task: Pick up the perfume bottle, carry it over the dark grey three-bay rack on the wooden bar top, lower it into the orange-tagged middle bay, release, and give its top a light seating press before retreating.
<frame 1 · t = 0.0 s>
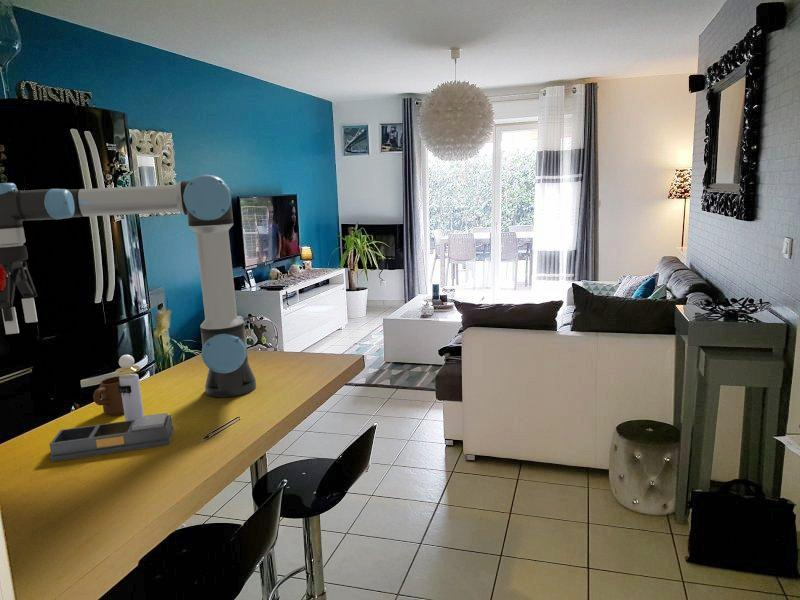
hand: (22, 327, 150), 28 cm above the breakfast bar, fingers open, 13 cm apart
perfume bottle: (136, 428, 153), on the breakfast bar
mug: (113, 415, 164), on the breakfast bar
rack: (115, 444, 143), on the breakfast bar
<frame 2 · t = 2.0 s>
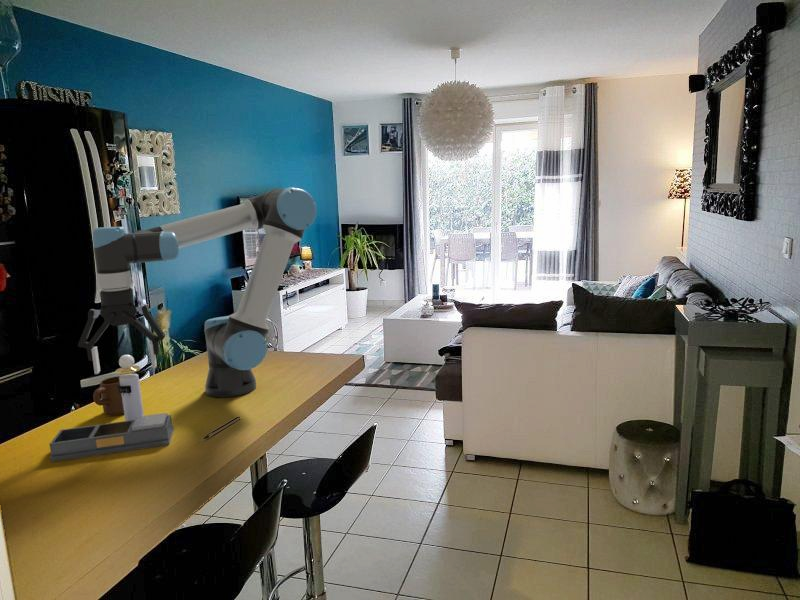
hand: (126, 369, 150), 16 cm above the breakfast bar, fingers open, 13 cm apart
nothing on the breakfast bar moved.
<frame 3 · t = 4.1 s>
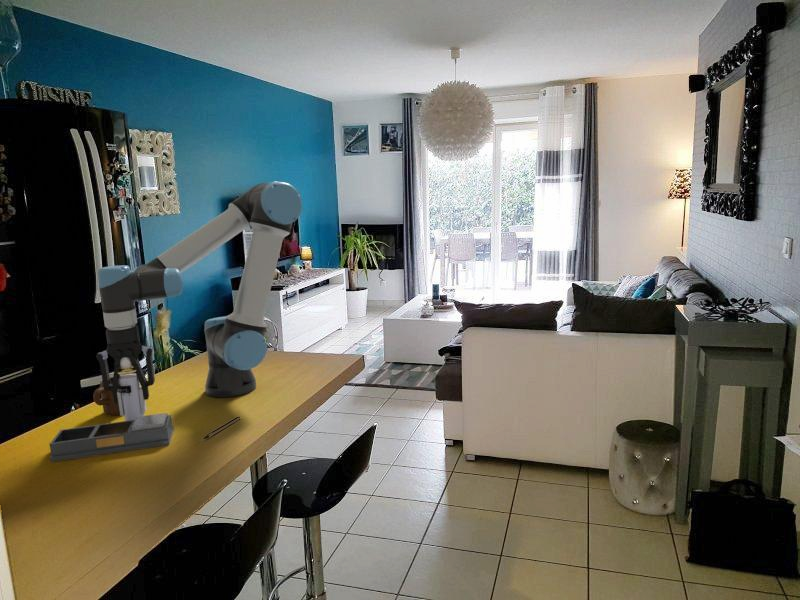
hand: (133, 412, 153), 4 cm above the breakfast bar, fingers closed on perfume bottle, 4 cm apart
perfume bottle: (136, 428, 153), on the breakfast bar, touching gripper
everything else where it was.
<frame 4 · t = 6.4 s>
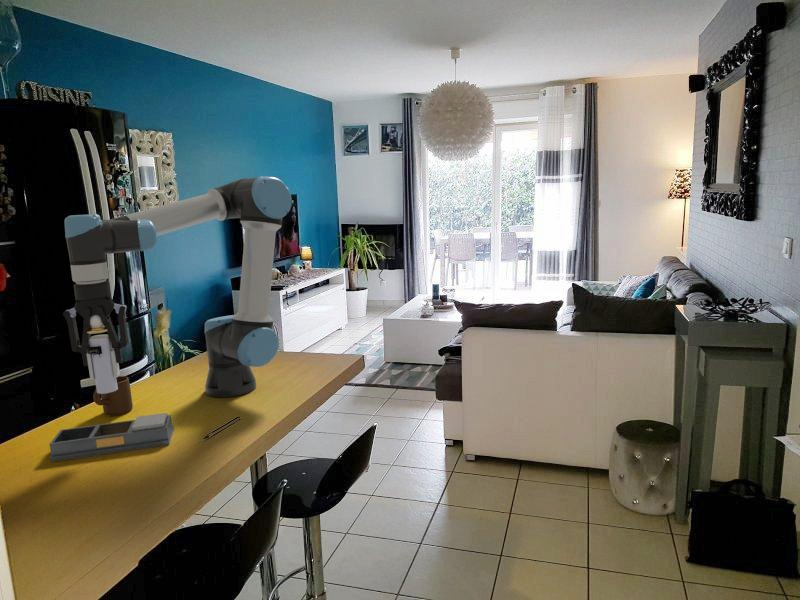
hand: (105, 376, 140), 18 cm above the breakfast bar, fingers closed on perfume bottle, 4 cm apart
perfume bottle: (107, 394, 141), point 13 cm above the breakfast bar, touching gripper
everything else where it was.
when the fingers open (7 cm above the breakfast bar, at t = 8.9 s): perfume bottle drops 1 cm, resting on rack.
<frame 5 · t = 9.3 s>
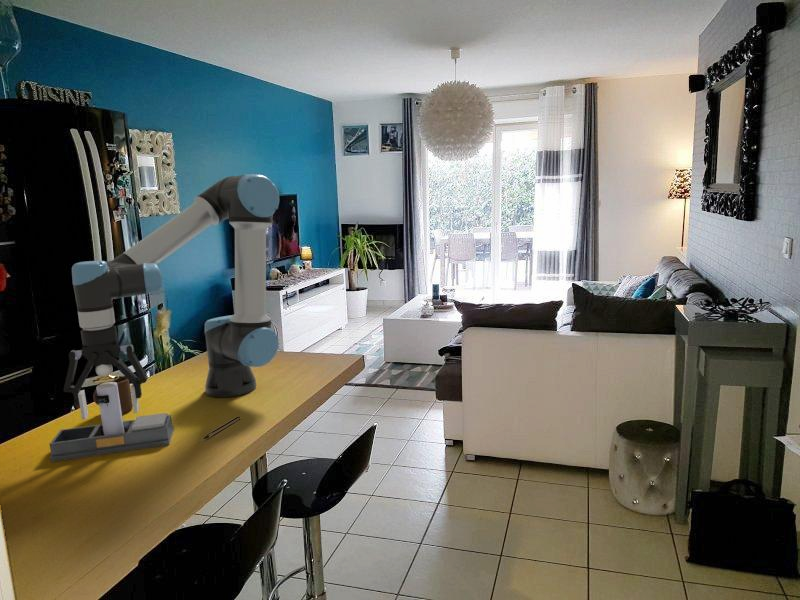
hand: (111, 414, 142), 8 cm above the breakfast bar, fingers open, 11 cm apart
perfume bottle: (115, 440, 143), point 1 cm above the breakfast bar, touching rack
everything else where it was.
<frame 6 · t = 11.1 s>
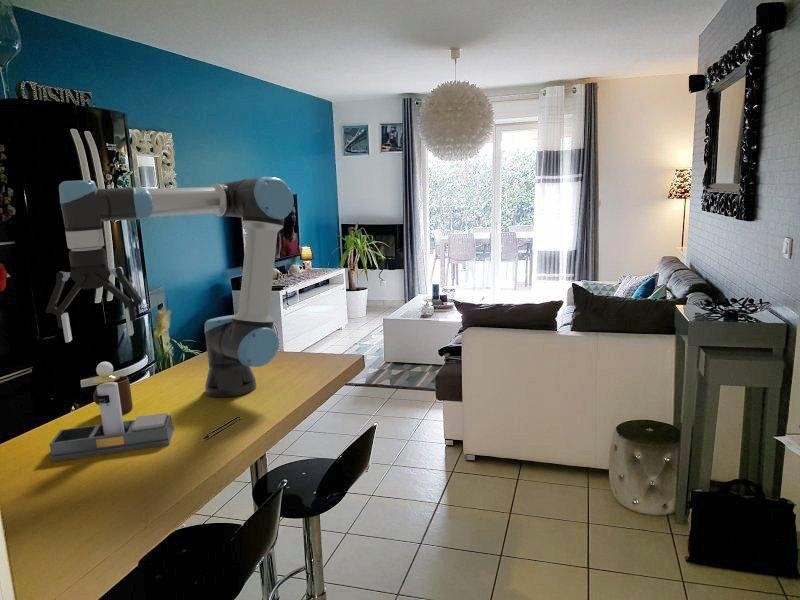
hand: (100, 337, 138), 27 cm above the breakfast bar, fingers open, 13 cm apart
nothing on the breakfast bar moved.
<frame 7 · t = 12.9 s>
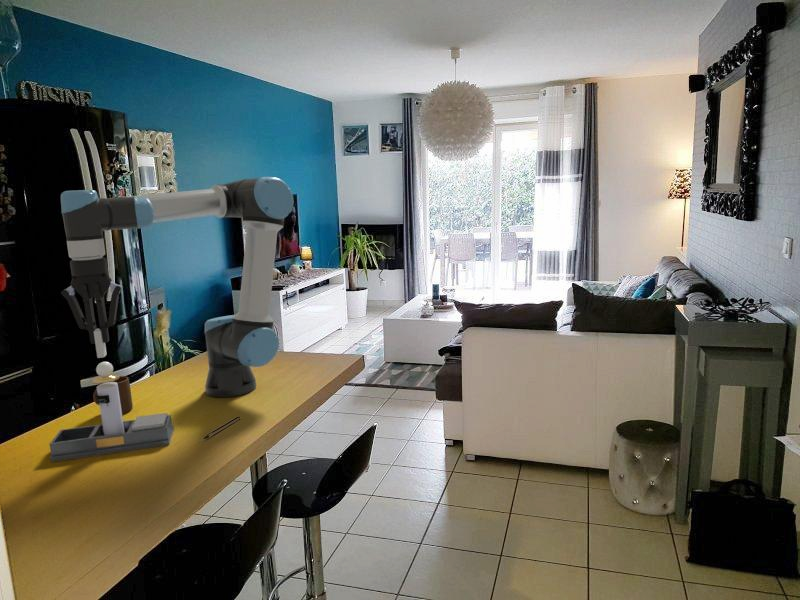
hand: (102, 356, 139), 23 cm above the breakfast bar, fingers closed
nothing on the breakfast bar moved.
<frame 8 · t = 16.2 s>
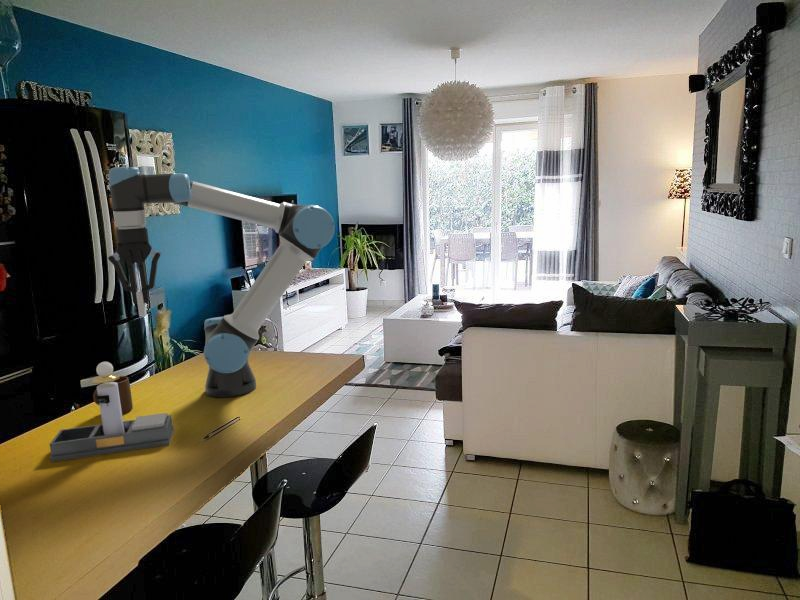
hand: (143, 315, 157), 28 cm above the breakfast bar, fingers closed
nothing on the breakfast bar moved.
at the end: perfume bottle 0.1 cm off-centre on the rack, point 1.1 cm above the rack's base; perfume bottle tilted 0°; the gripper is holding nothing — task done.
